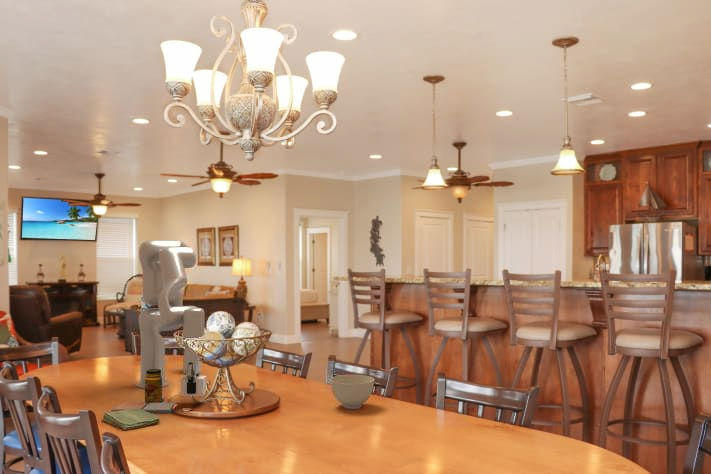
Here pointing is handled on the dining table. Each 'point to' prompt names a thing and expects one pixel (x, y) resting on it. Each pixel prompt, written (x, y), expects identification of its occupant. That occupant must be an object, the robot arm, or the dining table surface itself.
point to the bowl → (352, 389)
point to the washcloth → (130, 418)
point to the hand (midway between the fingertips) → (193, 391)
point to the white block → (199, 386)
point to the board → (147, 407)
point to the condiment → (153, 386)
